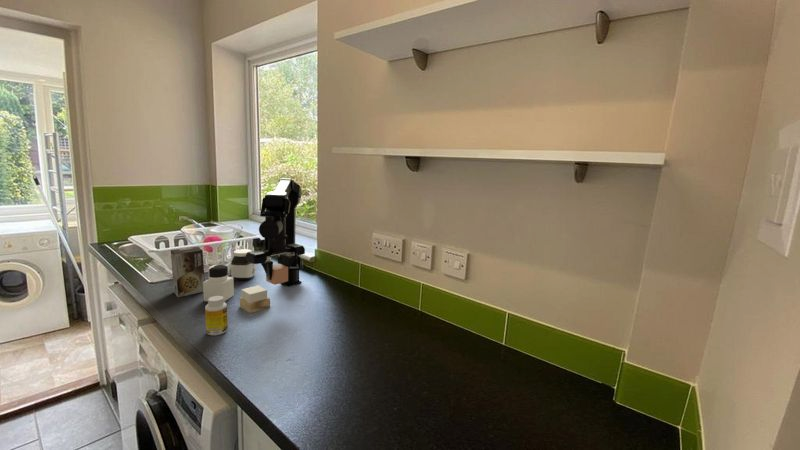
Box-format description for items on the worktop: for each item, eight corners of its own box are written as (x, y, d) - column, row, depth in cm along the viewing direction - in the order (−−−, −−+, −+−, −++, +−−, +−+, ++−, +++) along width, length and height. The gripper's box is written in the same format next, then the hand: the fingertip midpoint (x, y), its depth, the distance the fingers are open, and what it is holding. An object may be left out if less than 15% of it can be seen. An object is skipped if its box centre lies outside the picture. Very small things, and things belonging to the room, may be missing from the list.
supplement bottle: (226, 335, 99) (225, 301, 97) (204, 337, 97) (202, 302, 95) (228, 326, 104) (227, 293, 103) (208, 328, 102) (206, 295, 101)
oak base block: (259, 301, 124) (259, 292, 123) (269, 307, 119) (269, 298, 119) (239, 307, 118) (239, 297, 118) (250, 313, 114) (249, 303, 113)
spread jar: (247, 282, 141) (246, 254, 139) (219, 281, 141) (218, 253, 139) (259, 273, 153) (259, 247, 151) (233, 272, 153) (233, 246, 151)
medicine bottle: (234, 295, 127) (233, 263, 125) (222, 303, 120) (221, 269, 118) (216, 293, 128) (214, 262, 126) (203, 301, 121) (201, 268, 119)
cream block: (258, 293, 122) (258, 285, 122) (267, 298, 118) (267, 290, 118) (241, 297, 118) (241, 289, 117) (250, 303, 114) (249, 294, 113)
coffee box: (200, 287, 134) (198, 246, 131) (205, 291, 129) (203, 249, 126) (172, 292, 127) (170, 249, 125) (177, 297, 123) (174, 253, 120)
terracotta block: (279, 277, 120) (279, 263, 119) (288, 281, 117) (288, 266, 116) (266, 280, 116) (266, 266, 115) (274, 284, 113) (274, 270, 112)
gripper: (286, 225, 126) (286, 266, 128) (235, 232, 111) (237, 278, 114) (305, 230, 119) (305, 274, 122) (254, 238, 104) (255, 287, 107)
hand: (277, 278), depth 116 cm, fingers closed on terracotta block, 5 cm apart
